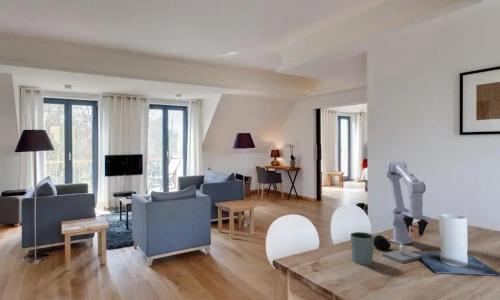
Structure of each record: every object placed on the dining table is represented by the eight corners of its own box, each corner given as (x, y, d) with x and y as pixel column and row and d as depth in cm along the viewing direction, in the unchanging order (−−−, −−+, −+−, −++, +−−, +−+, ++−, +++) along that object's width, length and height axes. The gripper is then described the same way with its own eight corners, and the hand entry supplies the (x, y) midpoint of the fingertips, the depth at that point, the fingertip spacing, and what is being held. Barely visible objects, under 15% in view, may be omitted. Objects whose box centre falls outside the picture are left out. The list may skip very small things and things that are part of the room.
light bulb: (400, 241, 156) (376, 230, 164) (394, 251, 153) (370, 239, 160) (400, 249, 160) (376, 238, 168) (394, 259, 156) (370, 247, 164)
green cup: (375, 266, 139) (375, 239, 138) (351, 264, 141) (351, 237, 140) (371, 257, 149) (371, 232, 148) (348, 256, 151) (349, 231, 150)
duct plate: (402, 251, 158) (402, 240, 158) (421, 257, 149) (421, 246, 149) (382, 255, 151) (383, 244, 151) (401, 263, 142) (401, 251, 142)
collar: (413, 234, 159) (413, 224, 159) (423, 237, 155) (424, 227, 155) (405, 235, 157) (406, 226, 157) (416, 238, 152) (416, 228, 152)
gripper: (397, 204, 160) (396, 230, 160) (424, 209, 147) (424, 238, 148) (406, 202, 163) (406, 228, 164) (434, 208, 150) (433, 236, 151)
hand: (415, 233), depth 156 cm, fingers closed on collar, 5 cm apart
